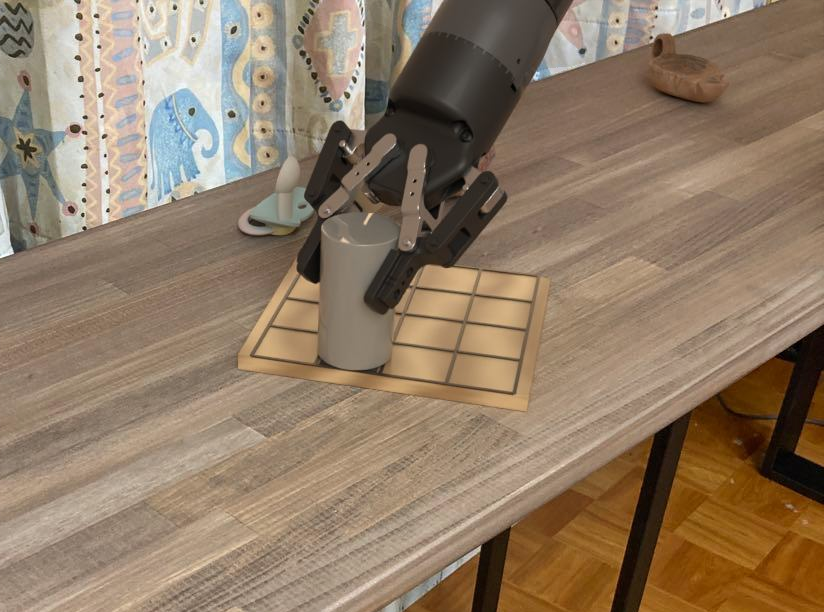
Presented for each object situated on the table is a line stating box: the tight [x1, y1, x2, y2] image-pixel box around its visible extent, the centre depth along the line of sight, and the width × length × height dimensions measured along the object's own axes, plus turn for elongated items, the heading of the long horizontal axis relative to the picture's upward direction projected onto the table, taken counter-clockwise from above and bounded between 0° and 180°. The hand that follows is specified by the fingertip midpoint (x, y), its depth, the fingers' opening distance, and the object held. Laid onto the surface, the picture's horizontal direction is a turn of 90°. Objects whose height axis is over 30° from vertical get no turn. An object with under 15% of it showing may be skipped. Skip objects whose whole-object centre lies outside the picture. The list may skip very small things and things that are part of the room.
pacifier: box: [237, 155, 315, 236], centre depth 95 cm, size 7×6×6 cm
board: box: [237, 256, 552, 412], centre depth 83 cm, size 20×18×1 cm
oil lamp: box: [648, 32, 730, 103], centre depth 125 cm, size 13×8×5 cm, turn 12°
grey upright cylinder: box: [317, 212, 402, 370], centre depth 75 cm, size 5×5×9 cm
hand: (339, 291), depth 74 cm, fingers open, 5 cm apart
